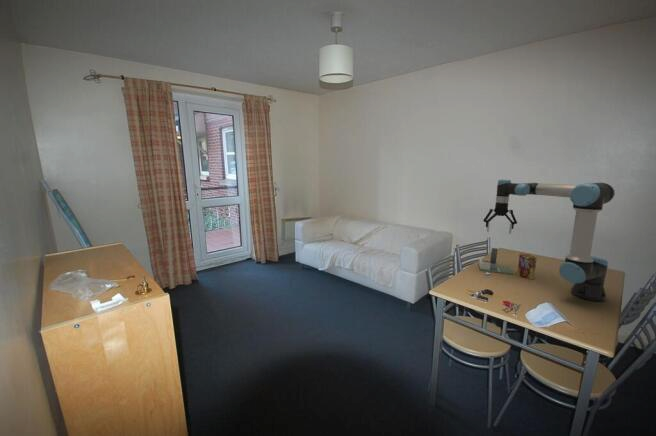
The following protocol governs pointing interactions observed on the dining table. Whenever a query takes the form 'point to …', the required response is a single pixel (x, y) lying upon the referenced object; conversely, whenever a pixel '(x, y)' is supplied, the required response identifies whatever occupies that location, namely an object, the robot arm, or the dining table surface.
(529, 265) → the candy box
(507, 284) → the dining table surface
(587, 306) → the dining table surface
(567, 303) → the dining table surface
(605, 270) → the robot arm
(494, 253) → the kicker
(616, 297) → the dining table surface
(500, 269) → the pitch
